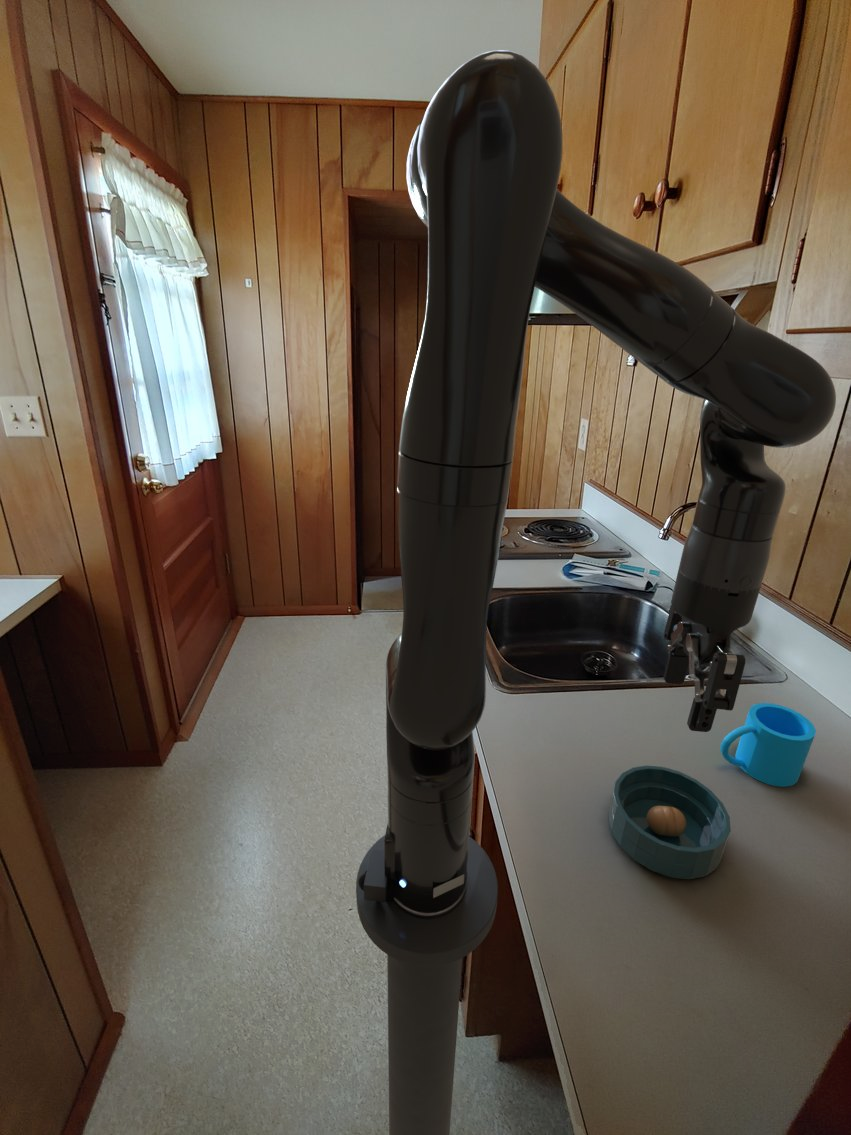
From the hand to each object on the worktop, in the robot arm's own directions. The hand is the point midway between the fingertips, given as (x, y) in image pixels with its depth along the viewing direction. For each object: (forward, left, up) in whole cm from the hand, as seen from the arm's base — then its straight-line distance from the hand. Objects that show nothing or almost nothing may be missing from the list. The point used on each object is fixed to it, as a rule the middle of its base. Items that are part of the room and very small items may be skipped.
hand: (684, 704), depth 62 cm
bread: (+1, 0, -19) cm, 19 cm away
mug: (+18, +14, -20) cm, 31 cm away
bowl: (+1, 0, -20) cm, 20 cm away
